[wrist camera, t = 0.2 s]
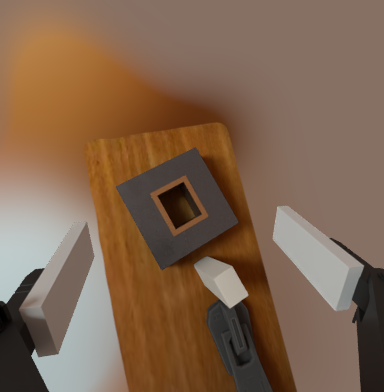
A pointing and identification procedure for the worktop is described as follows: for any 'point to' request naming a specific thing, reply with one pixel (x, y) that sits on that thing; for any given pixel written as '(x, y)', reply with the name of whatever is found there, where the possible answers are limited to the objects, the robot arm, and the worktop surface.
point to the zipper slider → (237, 346)
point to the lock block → (196, 197)
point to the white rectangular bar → (221, 280)
